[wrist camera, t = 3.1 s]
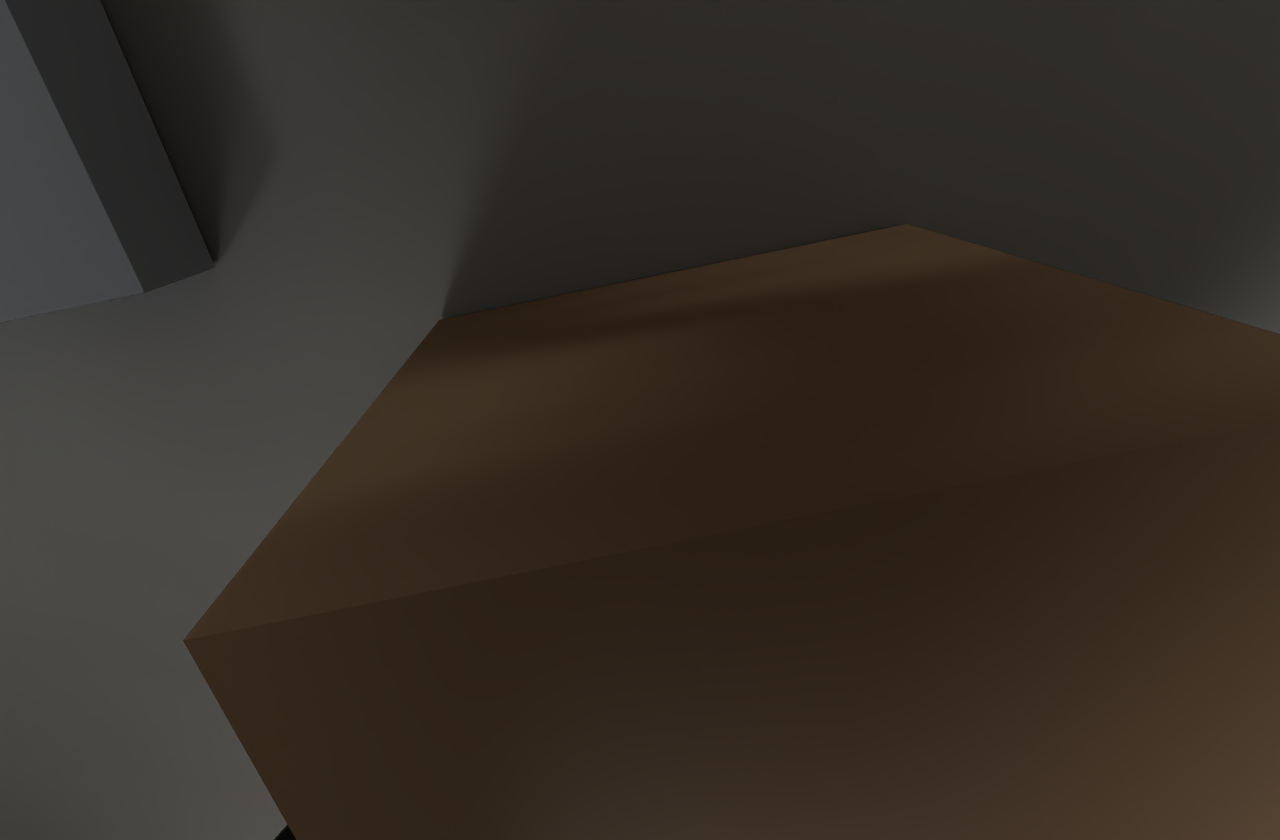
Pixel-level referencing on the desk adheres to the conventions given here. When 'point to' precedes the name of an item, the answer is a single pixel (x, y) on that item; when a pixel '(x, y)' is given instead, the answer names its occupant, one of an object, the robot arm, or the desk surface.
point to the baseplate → (81, 168)
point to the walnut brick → (784, 567)
